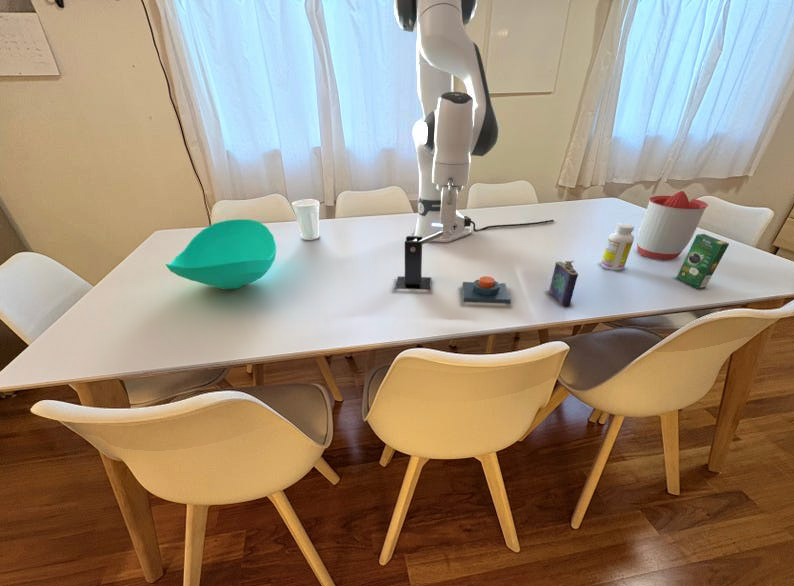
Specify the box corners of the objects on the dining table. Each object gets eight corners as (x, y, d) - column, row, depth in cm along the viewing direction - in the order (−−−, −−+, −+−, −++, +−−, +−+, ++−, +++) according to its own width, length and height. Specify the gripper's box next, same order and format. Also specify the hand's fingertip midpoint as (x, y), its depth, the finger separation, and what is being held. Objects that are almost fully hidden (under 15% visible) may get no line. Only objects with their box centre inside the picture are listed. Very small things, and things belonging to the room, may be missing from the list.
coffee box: (707, 288, 105) (731, 242, 97) (698, 290, 104) (721, 243, 96) (683, 277, 111) (704, 233, 103) (675, 278, 110) (695, 234, 103)
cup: (301, 244, 139) (295, 207, 131) (294, 236, 146) (288, 201, 138) (327, 239, 143) (322, 203, 135) (319, 232, 150) (314, 198, 142)
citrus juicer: (689, 252, 127) (718, 189, 116) (677, 266, 117) (707, 199, 106) (640, 242, 136) (662, 182, 124) (624, 255, 126) (646, 191, 114)
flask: (546, 291, 104) (555, 254, 98) (556, 291, 105) (566, 254, 98) (562, 307, 97) (573, 268, 91) (573, 306, 97) (584, 267, 91)
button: (493, 282, 101) (493, 276, 100) (494, 289, 98) (495, 282, 97) (478, 282, 102) (478, 276, 101) (479, 288, 98) (479, 282, 97)
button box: (504, 290, 106) (506, 277, 103) (509, 307, 98) (511, 293, 95) (461, 289, 107) (463, 275, 104) (463, 305, 99) (464, 291, 96)
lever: (451, 230, 100) (448, 222, 99) (452, 236, 96) (448, 228, 95) (411, 248, 104) (407, 240, 103) (410, 254, 100) (406, 246, 99)
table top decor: (207, 261, 126) (194, 221, 119) (290, 257, 128) (282, 217, 121) (158, 319, 95) (135, 270, 87) (269, 313, 97) (257, 264, 89)
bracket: (430, 281, 111) (432, 234, 103) (429, 293, 105) (431, 244, 97) (397, 280, 112) (396, 233, 104) (394, 291, 106) (393, 243, 97)
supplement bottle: (622, 264, 120) (636, 223, 112) (624, 272, 115) (640, 229, 107) (599, 261, 122) (612, 221, 114) (601, 269, 117) (614, 227, 109)
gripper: (465, 184, 81) (458, 246, 90) (462, 168, 98) (457, 222, 106) (436, 183, 82) (432, 245, 90) (438, 167, 98) (435, 221, 107)
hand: (446, 232), depth 98 cm, fingers open, 8 cm apart
